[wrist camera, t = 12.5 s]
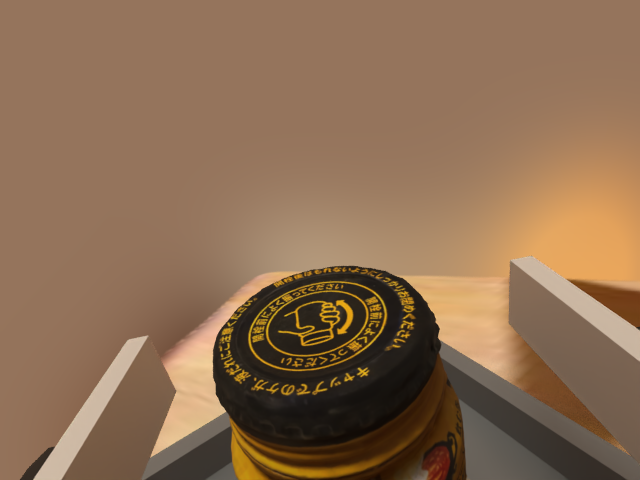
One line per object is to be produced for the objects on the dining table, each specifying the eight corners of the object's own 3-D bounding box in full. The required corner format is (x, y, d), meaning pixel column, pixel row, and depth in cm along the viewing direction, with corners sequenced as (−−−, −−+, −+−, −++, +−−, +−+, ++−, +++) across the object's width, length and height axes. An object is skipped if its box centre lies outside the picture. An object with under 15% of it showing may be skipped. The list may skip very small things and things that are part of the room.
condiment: (257, 588, 13) (125, 344, 8) (386, 426, 18) (348, 215, 14) (433, 858, 8) (348, 621, 3) (545, 530, 13) (575, 248, 8)
